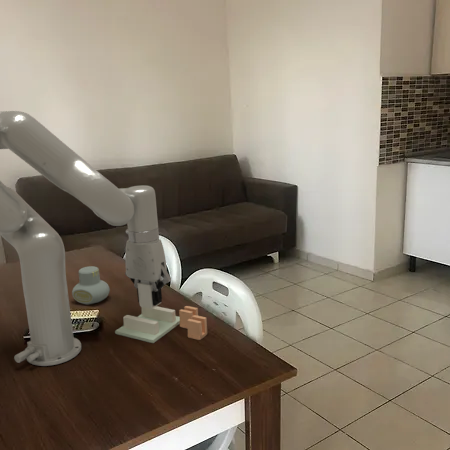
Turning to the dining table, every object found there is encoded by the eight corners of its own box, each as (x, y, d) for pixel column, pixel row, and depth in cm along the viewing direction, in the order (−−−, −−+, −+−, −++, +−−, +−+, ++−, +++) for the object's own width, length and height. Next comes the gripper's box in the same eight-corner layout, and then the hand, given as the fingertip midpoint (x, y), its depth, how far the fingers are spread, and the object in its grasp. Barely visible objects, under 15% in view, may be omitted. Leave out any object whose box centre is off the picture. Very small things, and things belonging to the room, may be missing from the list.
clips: (200, 340, 122) (199, 323, 121) (171, 333, 126) (170, 316, 125) (215, 327, 129) (214, 311, 128) (187, 321, 133) (186, 305, 132)
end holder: (153, 343, 122) (152, 329, 121) (115, 333, 127) (114, 320, 126) (183, 320, 133) (183, 307, 132) (148, 312, 139) (147, 300, 138)
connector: (152, 308, 126) (149, 279, 124) (139, 306, 128) (136, 277, 126) (161, 302, 130) (158, 274, 128) (148, 300, 132) (146, 272, 129)
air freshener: (115, 297, 151) (112, 266, 148) (99, 308, 143) (96, 275, 141) (84, 293, 154) (81, 263, 152) (68, 303, 147) (64, 272, 144)
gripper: (108, 236, 125) (115, 302, 129) (162, 242, 117) (168, 313, 122) (127, 228, 131) (133, 292, 136) (179, 234, 123) (184, 301, 128)
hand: (150, 301), depth 129 cm, fingers closed on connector, 4 cm apart
